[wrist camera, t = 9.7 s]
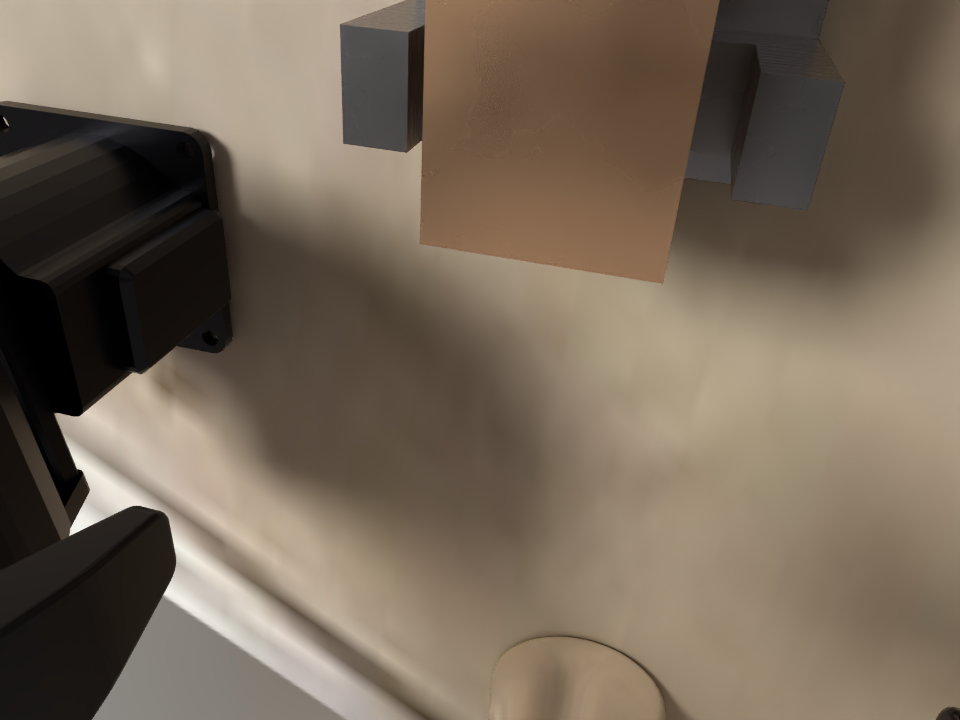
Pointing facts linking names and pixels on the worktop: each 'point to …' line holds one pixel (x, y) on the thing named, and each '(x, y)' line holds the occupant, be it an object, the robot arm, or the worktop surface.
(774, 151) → the collar stand
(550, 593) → the worktop surface
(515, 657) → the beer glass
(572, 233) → the banded tan post
